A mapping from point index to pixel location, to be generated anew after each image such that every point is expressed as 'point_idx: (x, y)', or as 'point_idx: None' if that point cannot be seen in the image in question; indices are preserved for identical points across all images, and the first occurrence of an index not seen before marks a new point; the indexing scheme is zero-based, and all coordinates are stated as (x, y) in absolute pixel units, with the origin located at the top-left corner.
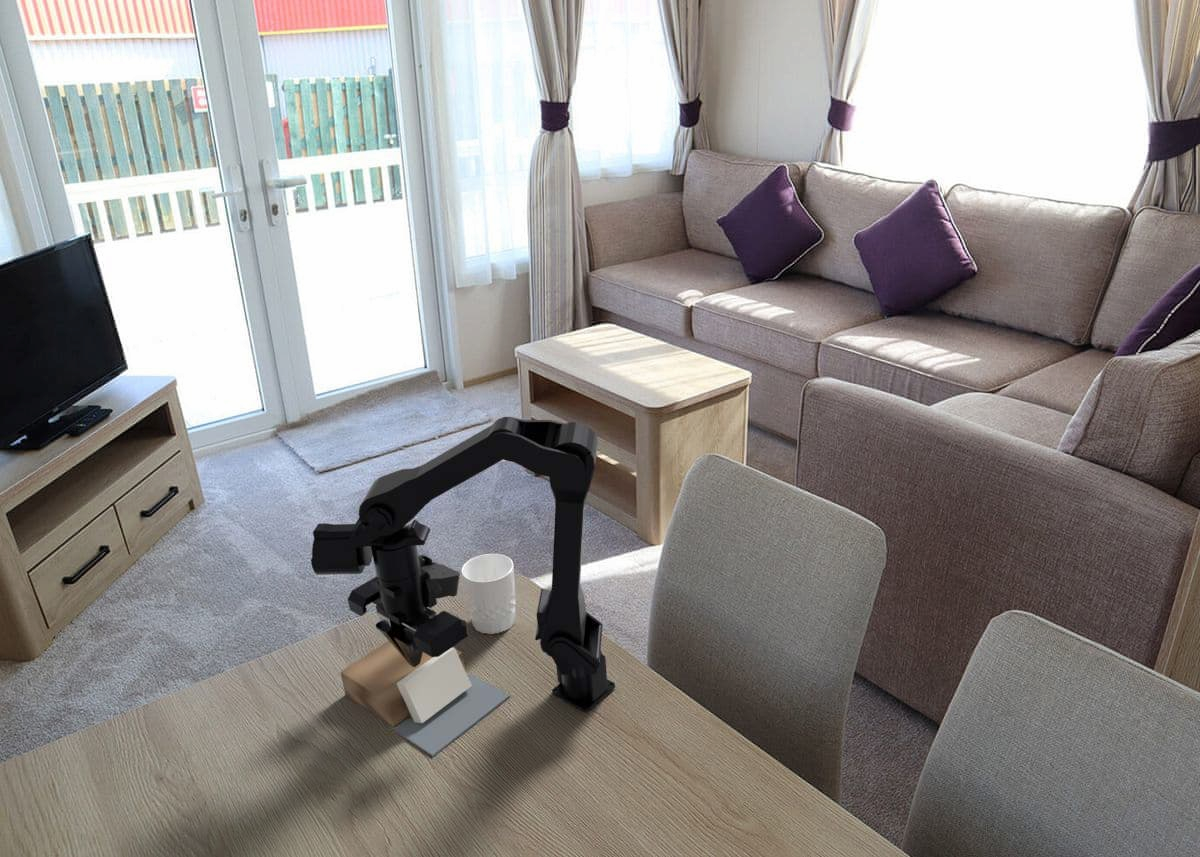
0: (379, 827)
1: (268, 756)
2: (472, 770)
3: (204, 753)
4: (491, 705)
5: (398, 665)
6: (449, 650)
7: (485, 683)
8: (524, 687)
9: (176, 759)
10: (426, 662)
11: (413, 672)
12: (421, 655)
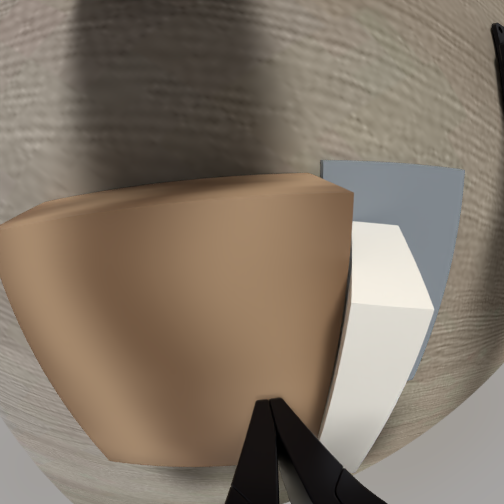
0: (402, 438)
1: (190, 484)
2: (470, 340)
3: (135, 493)
4: (451, 226)
5: (186, 405)
6: (414, 334)
7: (397, 170)
8: (463, 119)
9: (128, 498)
10: (335, 407)
11: (331, 444)
12: (306, 427)
